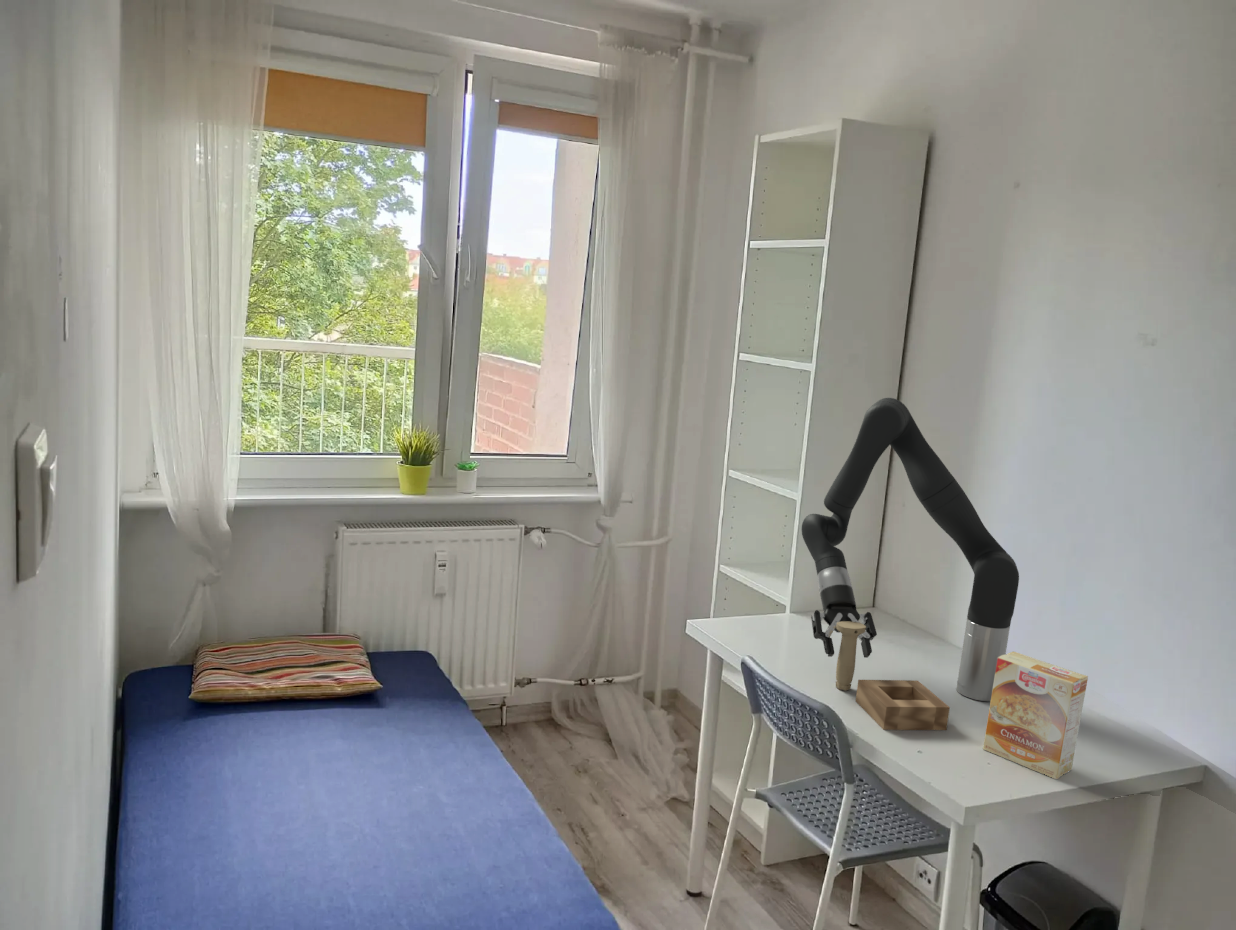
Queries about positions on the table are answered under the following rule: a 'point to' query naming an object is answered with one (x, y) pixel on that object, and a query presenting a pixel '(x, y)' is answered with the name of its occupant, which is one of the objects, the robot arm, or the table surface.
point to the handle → (847, 652)
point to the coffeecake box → (1035, 714)
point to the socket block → (902, 705)
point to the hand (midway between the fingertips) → (849, 655)
